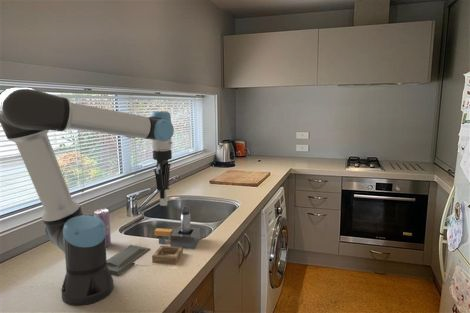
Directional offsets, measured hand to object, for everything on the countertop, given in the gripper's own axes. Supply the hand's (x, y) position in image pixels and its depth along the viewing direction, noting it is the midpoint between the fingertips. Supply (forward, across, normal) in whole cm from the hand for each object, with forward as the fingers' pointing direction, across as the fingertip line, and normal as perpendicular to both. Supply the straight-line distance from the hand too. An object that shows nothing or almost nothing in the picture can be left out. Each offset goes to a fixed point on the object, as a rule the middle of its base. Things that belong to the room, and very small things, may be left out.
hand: (163, 205), depth 137 cm
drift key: (+13, 0, 0) cm, 13 cm away
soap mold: (+18, -17, +10) cm, 27 cm away
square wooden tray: (+17, -14, -6) cm, 23 cm away
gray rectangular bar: (+16, 0, -9) cm, 19 cm away
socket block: (+17, 0, -7) cm, 18 cm away
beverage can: (+17, -6, +25) cm, 31 cm away
